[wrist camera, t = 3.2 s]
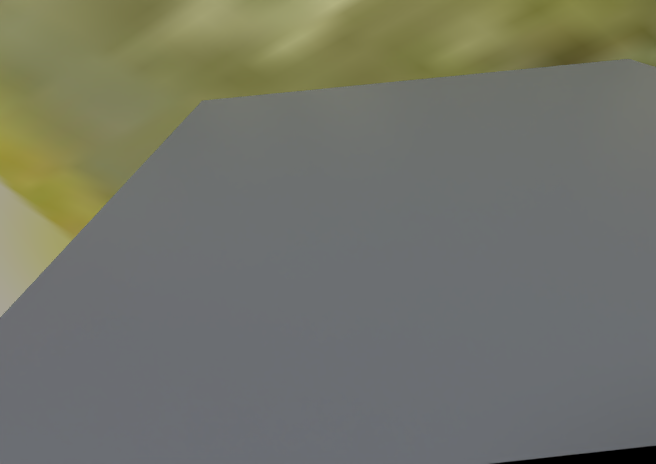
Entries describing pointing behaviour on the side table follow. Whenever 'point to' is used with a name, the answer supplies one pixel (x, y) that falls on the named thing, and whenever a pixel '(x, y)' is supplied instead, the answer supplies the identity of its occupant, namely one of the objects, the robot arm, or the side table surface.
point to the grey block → (360, 284)
